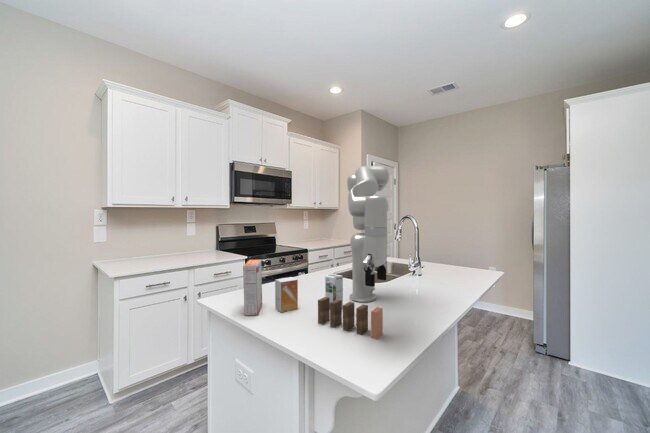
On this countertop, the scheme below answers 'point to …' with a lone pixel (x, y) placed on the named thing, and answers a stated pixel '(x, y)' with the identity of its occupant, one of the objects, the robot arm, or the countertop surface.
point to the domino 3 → (348, 316)
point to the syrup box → (334, 287)
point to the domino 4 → (361, 319)
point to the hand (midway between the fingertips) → (376, 282)
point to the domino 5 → (376, 323)
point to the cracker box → (252, 287)
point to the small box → (286, 294)
